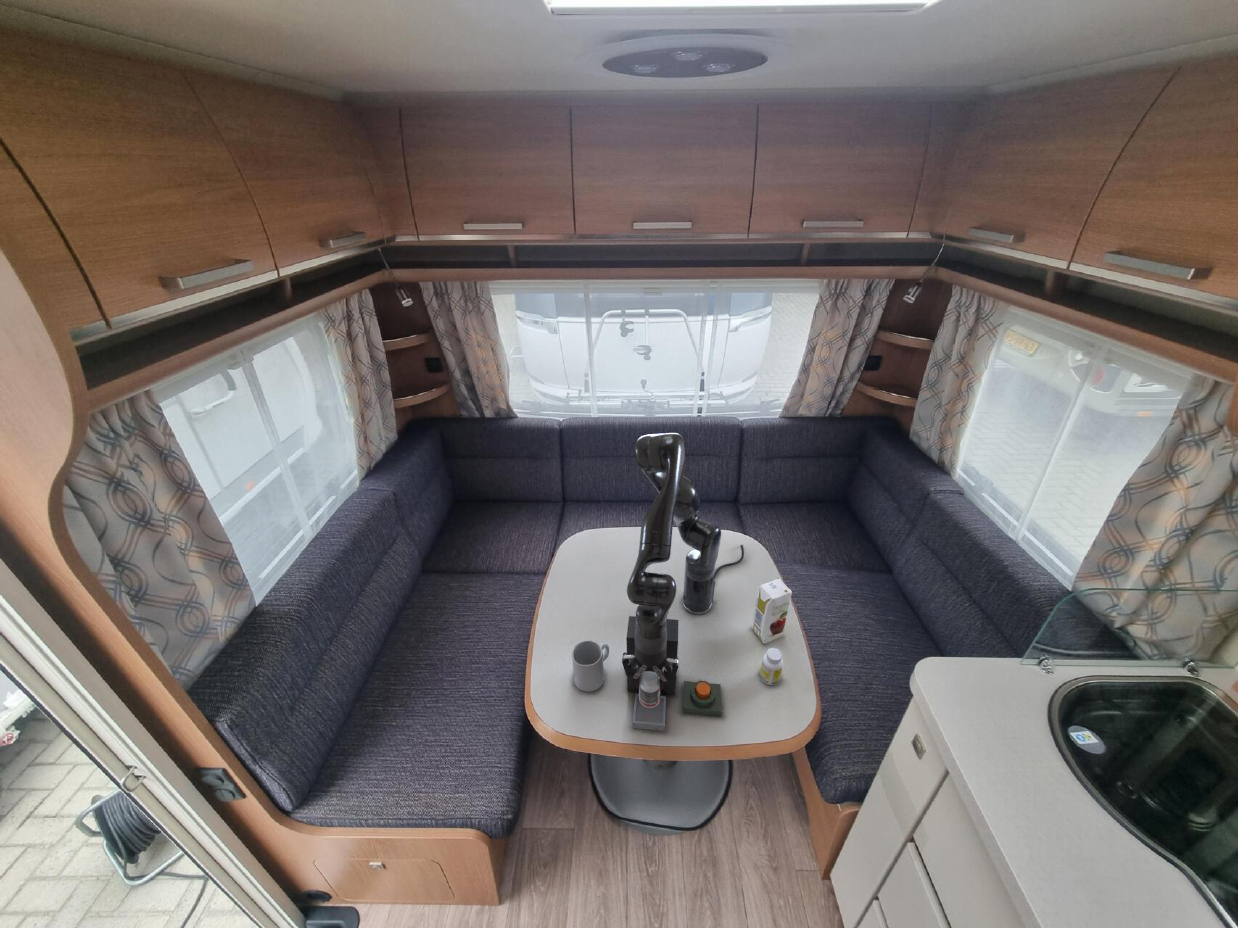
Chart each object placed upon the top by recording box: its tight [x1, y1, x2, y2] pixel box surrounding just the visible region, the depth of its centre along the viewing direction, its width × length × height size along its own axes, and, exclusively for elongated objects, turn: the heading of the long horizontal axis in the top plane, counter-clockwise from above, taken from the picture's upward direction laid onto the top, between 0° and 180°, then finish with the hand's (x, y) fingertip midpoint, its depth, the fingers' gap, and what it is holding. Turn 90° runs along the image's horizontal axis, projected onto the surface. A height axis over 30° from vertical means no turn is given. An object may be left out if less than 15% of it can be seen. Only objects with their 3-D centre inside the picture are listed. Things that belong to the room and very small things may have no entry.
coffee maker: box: [625, 615, 680, 732], centre depth 127 cm, size 17×13×22 cm
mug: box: [571, 640, 610, 693], centre depth 136 cm, size 12×8×11 cm
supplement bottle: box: [759, 647, 784, 686], centre depth 135 cm, size 5×5×10 cm
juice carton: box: [751, 577, 793, 645], centre depth 145 cm, size 8×9×19 cm
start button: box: [696, 682, 710, 699], centre depth 129 cm, size 4×4×2 cm
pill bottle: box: [639, 671, 661, 708], centre depth 123 cm, size 5×5×10 cm
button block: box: [682, 680, 723, 717], centre depth 130 cm, size 8×10×4 cm
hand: (649, 685), depth 122 cm, fingers closed on pill bottle, 5 cm apart
